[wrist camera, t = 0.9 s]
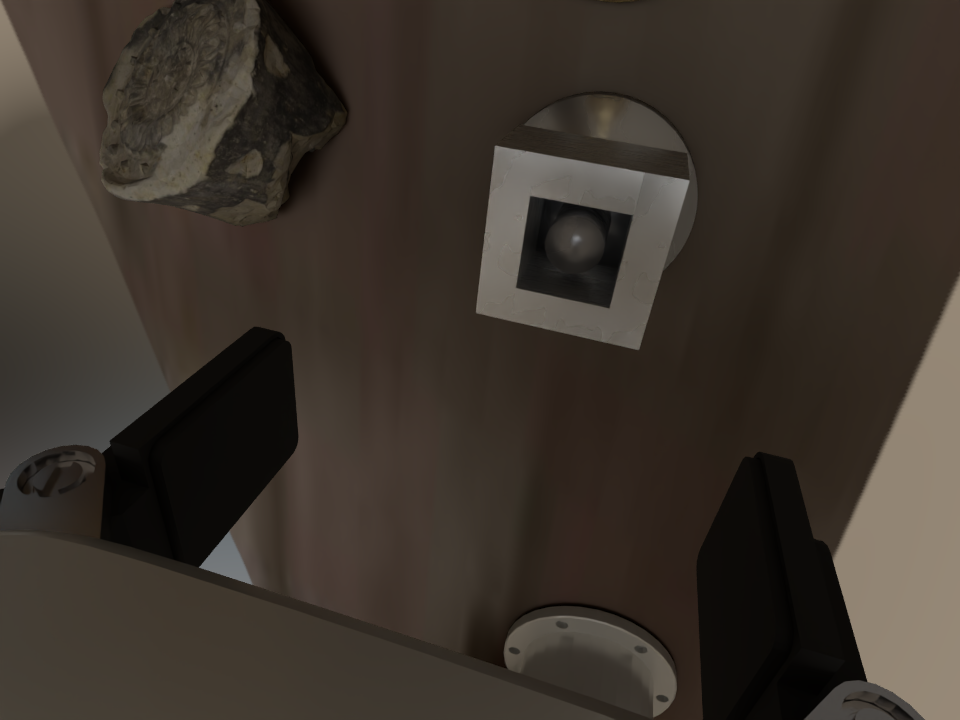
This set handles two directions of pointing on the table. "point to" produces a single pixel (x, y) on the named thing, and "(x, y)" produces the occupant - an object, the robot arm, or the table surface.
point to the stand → (596, 232)
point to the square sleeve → (588, 182)
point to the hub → (617, 0)
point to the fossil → (214, 111)
